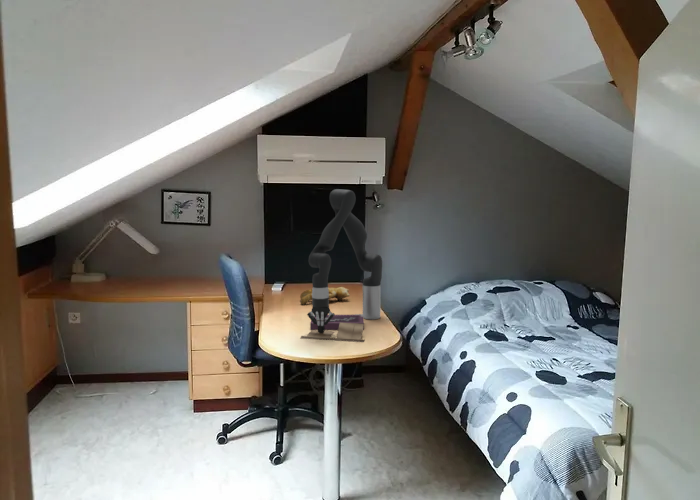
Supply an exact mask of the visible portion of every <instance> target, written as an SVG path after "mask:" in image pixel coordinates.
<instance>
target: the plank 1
mask: <svg viewBox="0 0 700 500" xmlns="http://www.w3.org/2000/svg"><path fill="white" fill-rule="evenodd" d="M334 334H335V331H333V330H325V331H324V332H323V333H322V334H321V333H319V332H318V330H310V331H309V333H307V335H306V336H312V337H329V338H332V336H333V335H334Z"/></svg>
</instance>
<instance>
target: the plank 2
mask: <svg viewBox="0 0 700 500" xmlns="http://www.w3.org/2000/svg"><path fill="white" fill-rule="evenodd" d="M363 327H364V328H365V323H364V324H358V323H340V324H339V328H338V330H337V334H336V337H335V338H346V339H362V337H363V332H364V330H363Z"/></svg>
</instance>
